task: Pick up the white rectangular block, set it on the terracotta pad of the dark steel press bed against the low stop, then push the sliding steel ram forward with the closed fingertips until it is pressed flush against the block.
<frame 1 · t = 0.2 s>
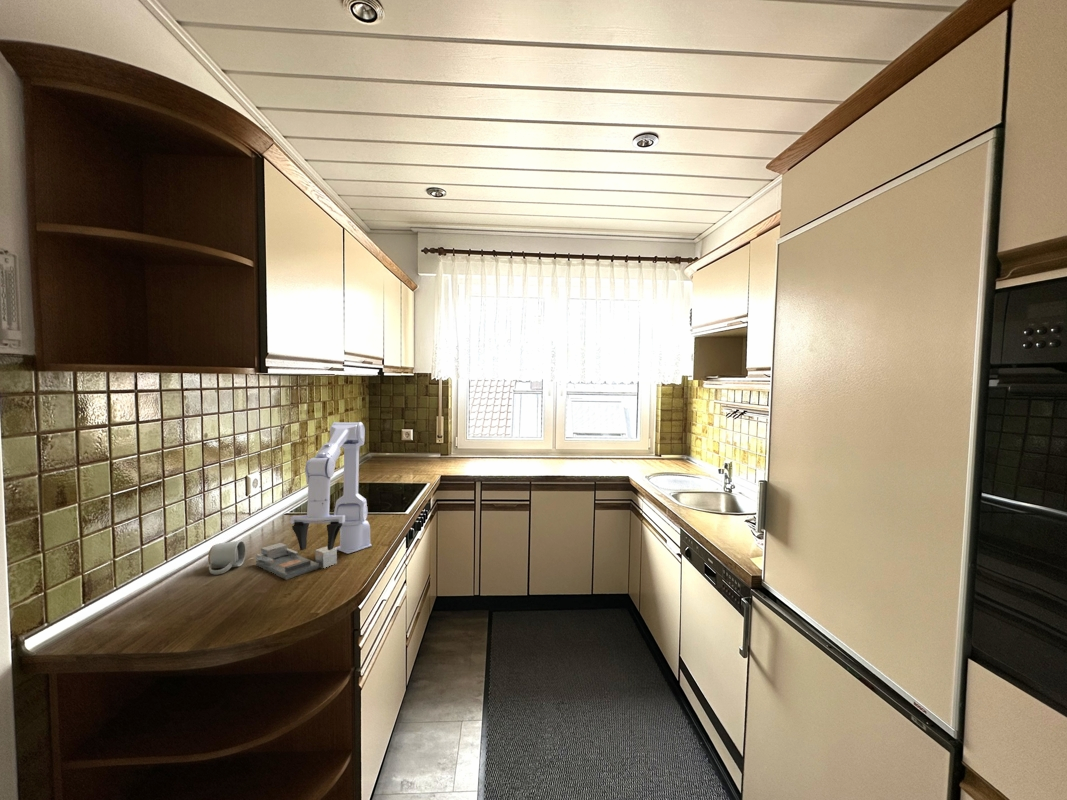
hand: (316, 549, 130), 10 cm above the worktop, tool pointing down, fingers open, 7 cm apart
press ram: (274, 551, 148), point 3 cm above the worktop, slide at 0.0 cm
white rectangular block: (326, 564, 146), on the worktop
ceramic mug: (226, 568, 143), on the worktop
press bed: (287, 567, 144), on the worktop
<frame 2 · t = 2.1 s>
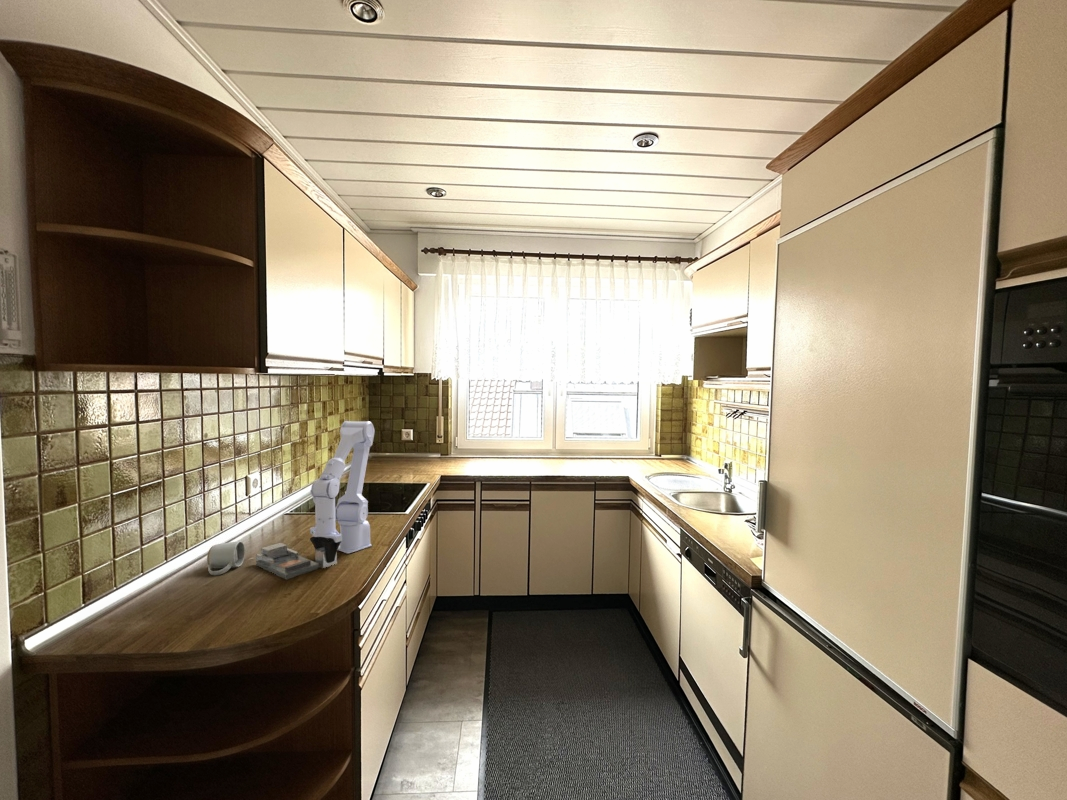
hand: (326, 560, 146), 1 cm above the worktop, tool pointing down, fingers closed on white rectangular block, 4 cm apart
white rectangular block: (326, 564, 146), on the worktop, touching gripper
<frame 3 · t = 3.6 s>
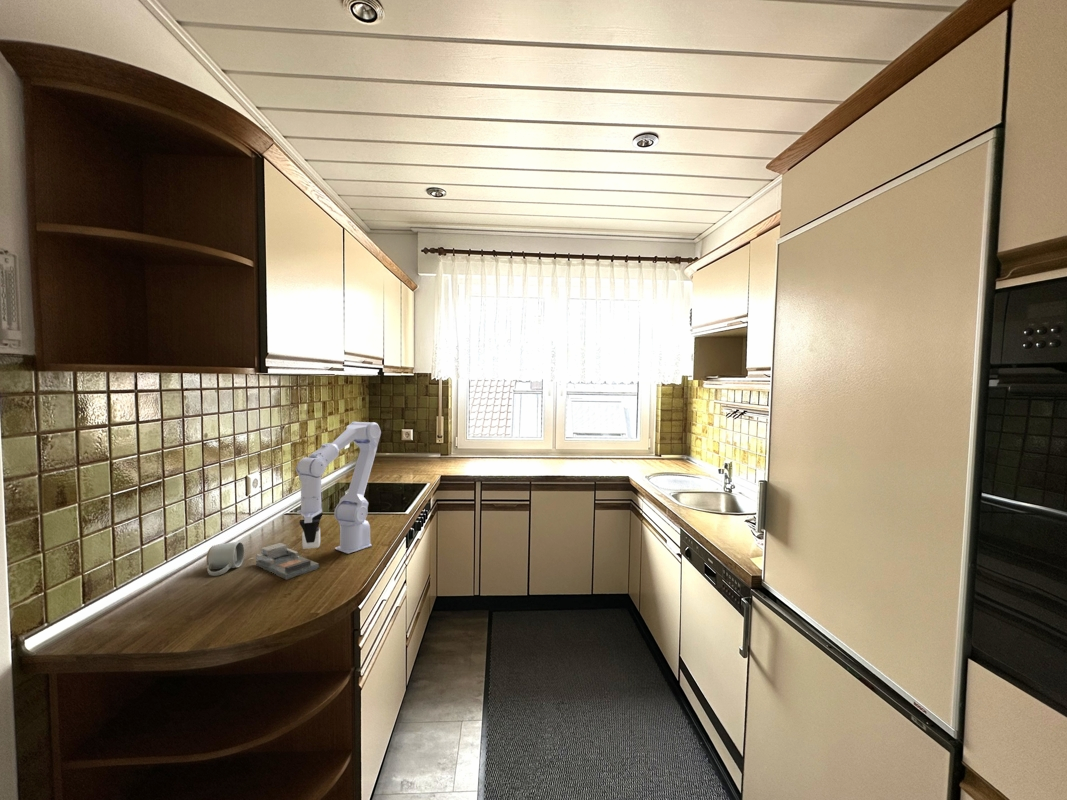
hand: (311, 539, 144), 8 cm above the worktop, tool pointing down, fingers closed on white rectangular block, 4 cm apart
white rectangular block: (311, 545, 144), point 7 cm above the worktop, touching gripper
when the fingers open (4 cm above the worktop, at t = 5.2 s): white rectangular block stays where it is, resting on press bed.
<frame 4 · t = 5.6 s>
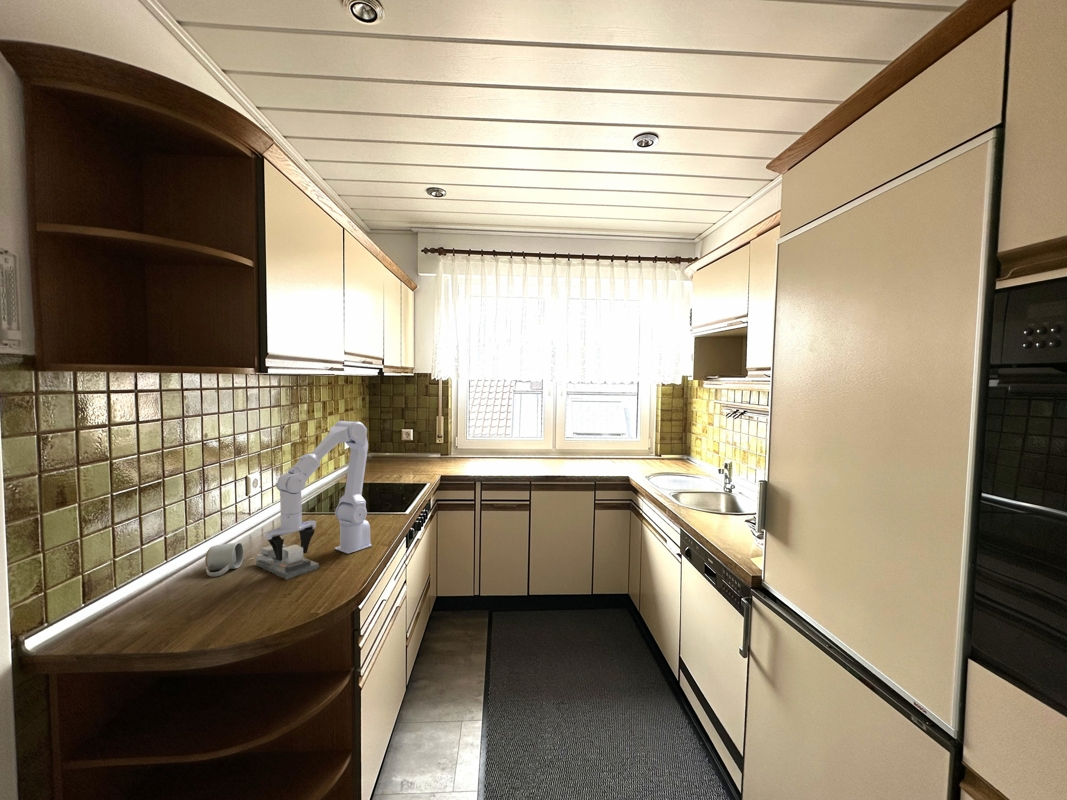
hand: (291, 556, 142), 4 cm above the worktop, tool pointing down, fingers open, 7 cm apart
white rectangular block: (292, 564, 142), point 2 cm above the worktop, touching press bed
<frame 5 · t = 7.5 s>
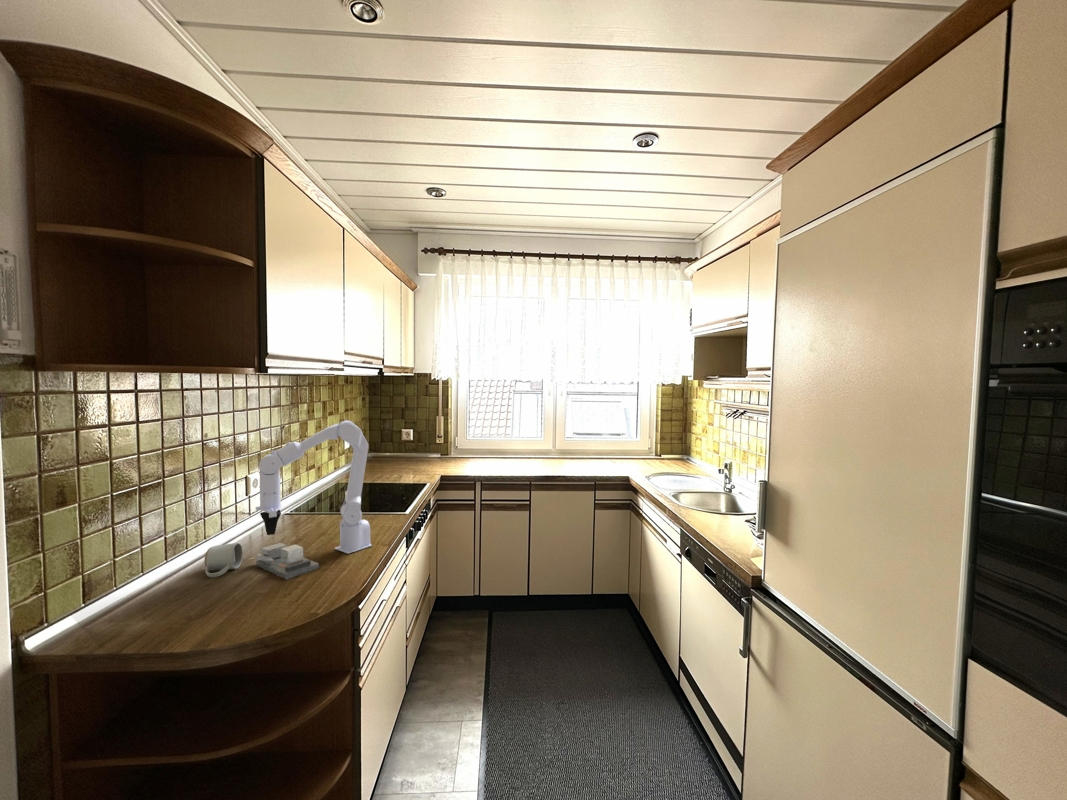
hand: (270, 534, 149), 9 cm above the worktop, tool pointing down, fingers closed
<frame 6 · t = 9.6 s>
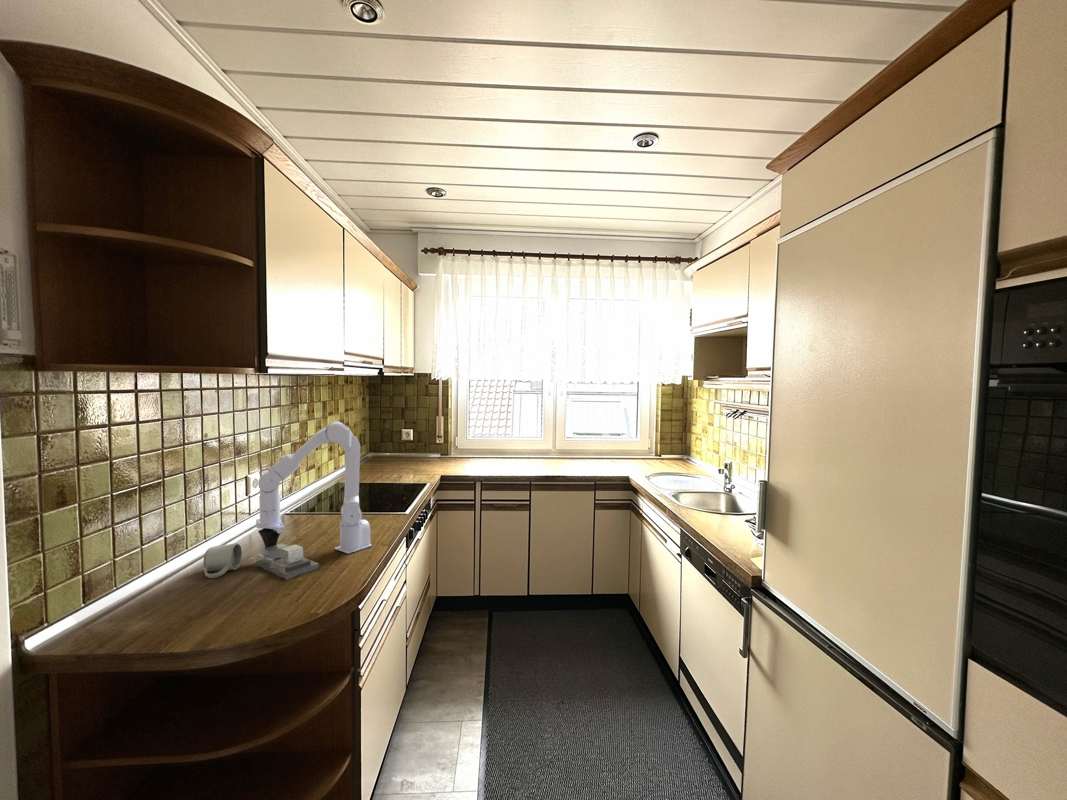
hand: (270, 550, 150), 3 cm above the worktop, tool pointing down, fingers closed
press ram: (275, 551, 148), point 3 cm above the worktop, slide at 0.9 cm, touching gripper
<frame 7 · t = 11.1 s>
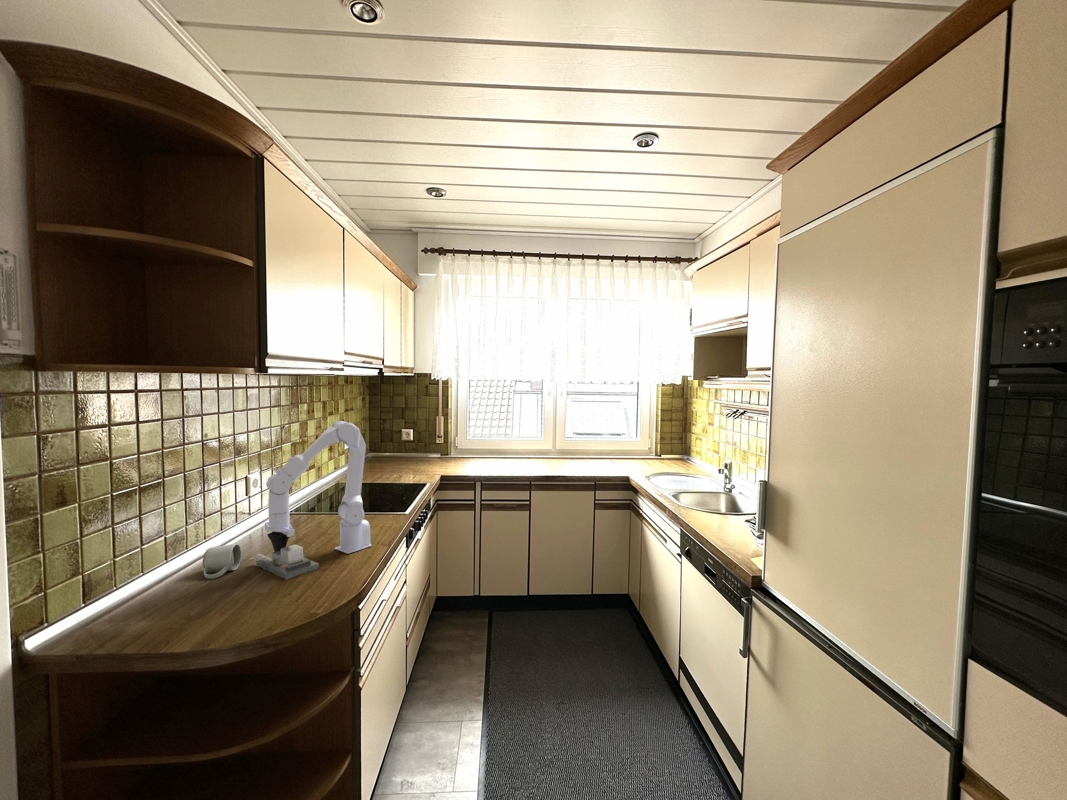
hand: (279, 554, 146), 3 cm above the worktop, tool pointing down, fingers closed
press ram: (284, 555, 145), point 3 cm above the worktop, slide at 6.6 cm, touching gripper, white rectangular block
white rectangular block: (292, 564, 142), point 2 cm above the worktop, touching press bed, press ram
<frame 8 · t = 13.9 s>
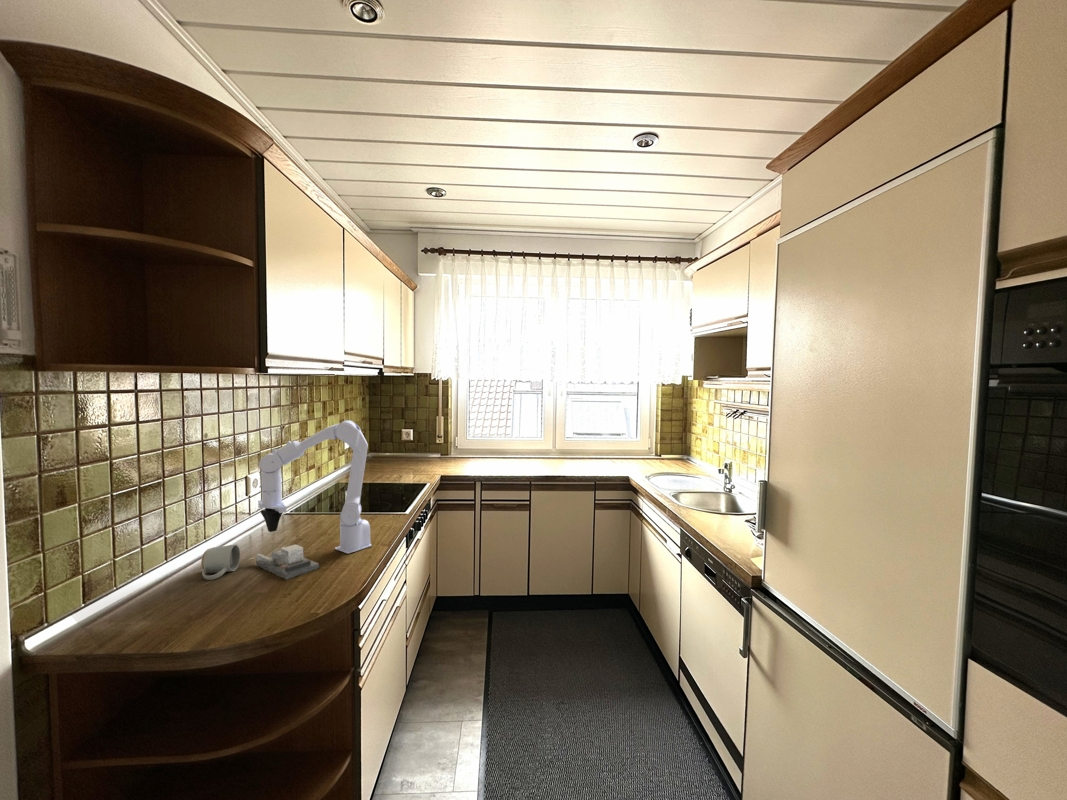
hand: (272, 530, 153), 8 cm above the worktop, tool pointing down, fingers closed
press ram: (284, 555, 145), point 3 cm above the worktop, slide at 6.6 cm, touching white rectangular block
at the end: white rectangular block 0.1 cm from the target spot on the press bed, point 1.6 cm above the press bed's base; white rectangular block tilted 0°; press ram slide at 6.6 cm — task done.
